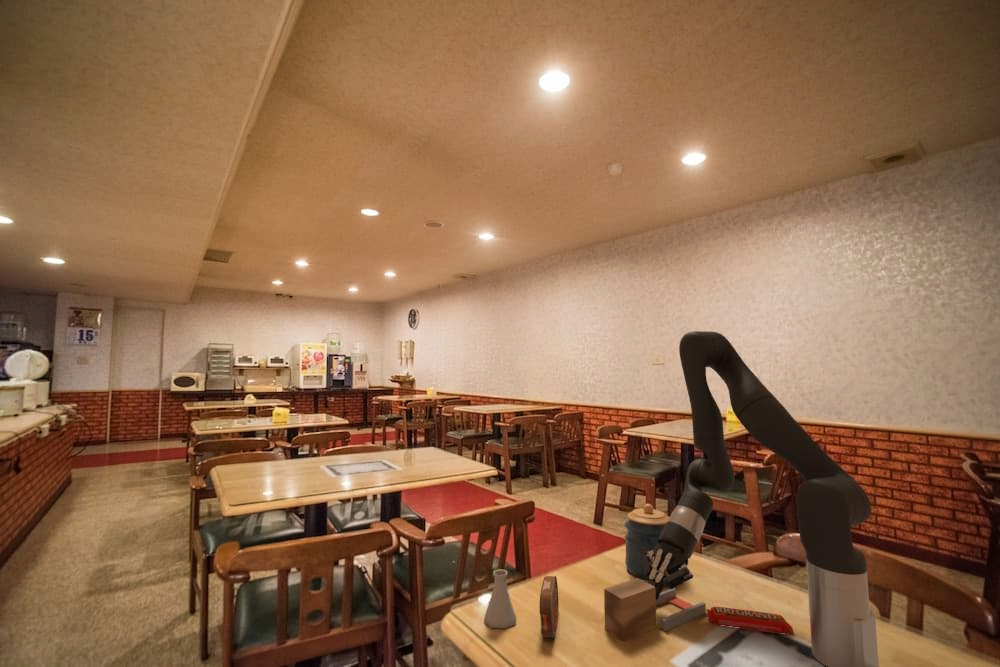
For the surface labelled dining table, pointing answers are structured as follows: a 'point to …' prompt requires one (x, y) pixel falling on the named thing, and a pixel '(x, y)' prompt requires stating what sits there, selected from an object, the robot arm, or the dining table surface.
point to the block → (630, 608)
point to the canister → (642, 536)
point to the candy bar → (749, 620)
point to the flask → (500, 604)
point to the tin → (549, 606)
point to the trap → (680, 603)
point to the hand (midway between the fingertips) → (648, 599)
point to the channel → (681, 615)
